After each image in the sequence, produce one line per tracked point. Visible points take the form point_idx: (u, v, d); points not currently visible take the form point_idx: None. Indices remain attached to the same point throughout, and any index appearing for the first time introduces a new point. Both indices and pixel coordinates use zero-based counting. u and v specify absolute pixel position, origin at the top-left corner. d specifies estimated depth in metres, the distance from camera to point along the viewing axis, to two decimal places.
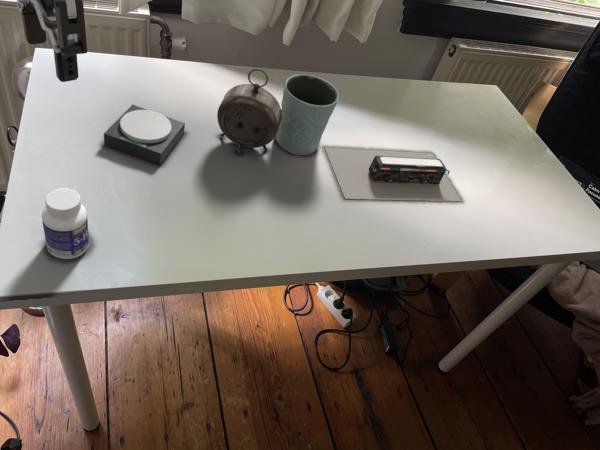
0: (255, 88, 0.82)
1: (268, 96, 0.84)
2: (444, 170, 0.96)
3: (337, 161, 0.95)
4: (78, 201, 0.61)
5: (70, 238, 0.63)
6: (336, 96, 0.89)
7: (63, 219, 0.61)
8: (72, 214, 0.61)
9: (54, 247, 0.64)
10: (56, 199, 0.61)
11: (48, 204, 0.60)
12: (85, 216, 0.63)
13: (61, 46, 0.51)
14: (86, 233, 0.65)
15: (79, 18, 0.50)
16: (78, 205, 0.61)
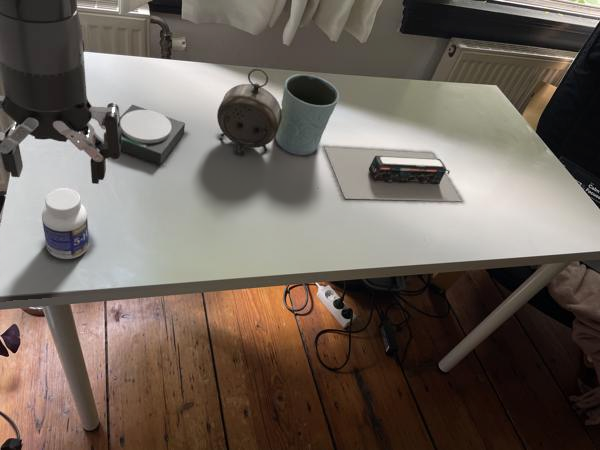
0: (255, 88, 0.82)
1: (268, 96, 0.84)
2: (444, 170, 0.96)
3: (337, 161, 0.95)
4: (78, 201, 0.61)
5: (70, 238, 0.63)
6: (336, 96, 0.89)
7: (63, 219, 0.61)
8: (72, 214, 0.61)
9: (54, 247, 0.64)
10: (56, 199, 0.60)
11: (48, 204, 0.60)
12: (85, 216, 0.63)
13: (113, 152, 0.55)
14: (86, 233, 0.65)
15: (119, 120, 0.55)
16: (78, 205, 0.61)
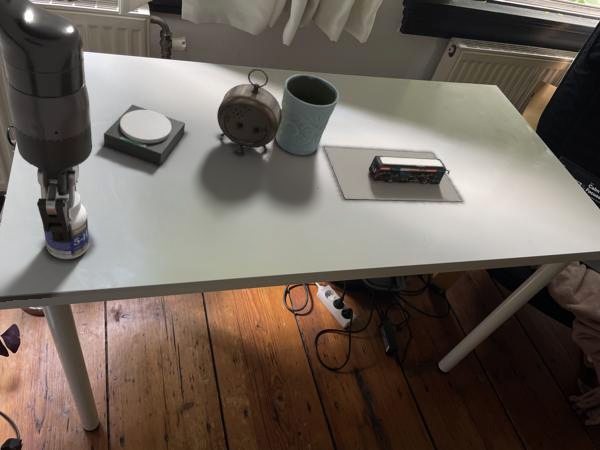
0: (255, 88, 0.82)
1: (268, 96, 0.84)
2: (444, 170, 0.96)
3: (337, 161, 0.95)
4: (78, 201, 0.61)
5: None
6: (336, 96, 0.89)
7: None
8: (72, 214, 0.61)
9: (54, 247, 0.64)
10: None
11: None
12: (85, 216, 0.63)
13: (77, 165, 0.64)
14: (86, 233, 0.65)
15: None
16: (78, 205, 0.61)
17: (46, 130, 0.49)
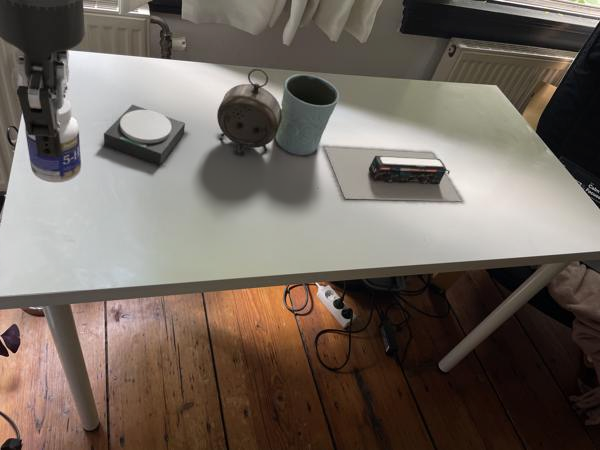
0: (255, 88, 0.82)
1: (268, 96, 0.84)
2: (444, 170, 0.96)
3: (337, 161, 0.95)
4: (68, 108, 0.52)
5: None
6: (336, 96, 0.89)
7: None
8: (61, 123, 0.52)
9: (40, 166, 0.54)
10: None
11: None
12: (76, 129, 0.54)
13: None
14: (78, 152, 0.56)
15: None
16: (68, 113, 0.52)
17: None
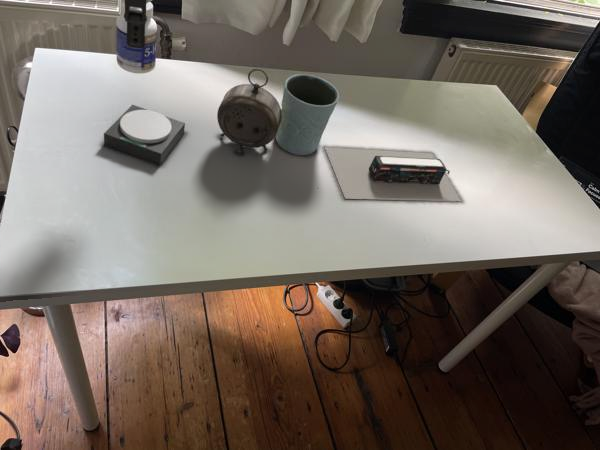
0: (255, 88, 0.82)
1: (268, 96, 0.84)
2: (444, 170, 0.96)
3: (337, 161, 0.95)
4: (151, 6, 0.65)
5: None
6: (336, 96, 0.89)
7: None
8: None
9: (126, 57, 0.67)
10: None
11: (124, 5, 0.63)
12: (156, 27, 0.67)
13: None
14: (155, 48, 0.68)
15: None
16: (151, 10, 0.65)
17: None
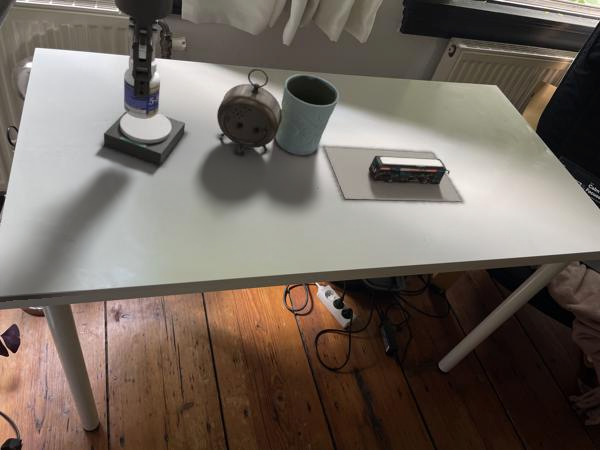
0: (255, 88, 0.82)
1: (268, 96, 0.84)
2: (444, 170, 0.96)
3: (337, 161, 0.95)
4: (155, 62, 0.73)
5: None
6: (336, 96, 0.89)
7: None
8: None
9: (133, 105, 0.76)
10: None
11: (132, 62, 0.72)
12: (159, 79, 0.76)
13: None
14: (158, 96, 0.77)
15: None
16: (155, 66, 0.74)
17: None
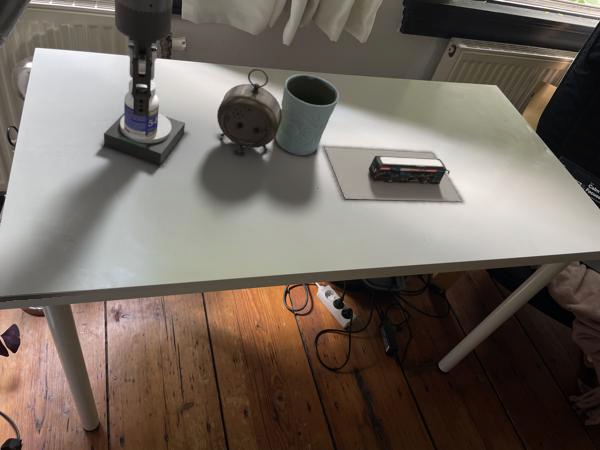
0: (255, 88, 0.82)
1: (268, 96, 0.84)
2: (444, 170, 0.96)
3: (337, 161, 0.95)
4: (154, 87, 0.76)
5: (146, 118, 0.78)
6: (336, 96, 0.89)
7: None
8: None
9: (133, 127, 0.79)
10: (137, 84, 0.76)
11: (131, 87, 0.75)
12: (158, 102, 0.78)
13: None
14: (157, 118, 0.80)
15: None
16: (154, 90, 0.76)
17: (144, 2, 0.64)
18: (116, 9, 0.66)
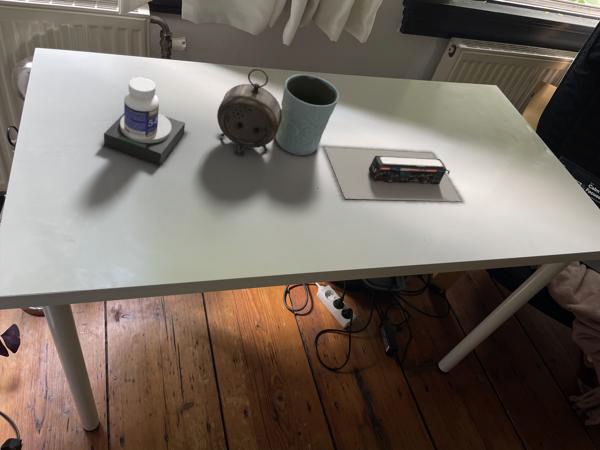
0: (255, 88, 0.82)
1: (268, 96, 0.84)
2: (444, 170, 0.96)
3: (337, 161, 0.95)
4: (154, 87, 0.76)
5: (146, 118, 0.78)
6: (336, 96, 0.89)
7: (142, 101, 0.76)
8: (149, 97, 0.76)
9: (133, 127, 0.79)
10: (137, 84, 0.76)
11: (131, 87, 0.75)
12: (158, 102, 0.78)
13: None
14: (157, 118, 0.80)
15: None
16: (154, 90, 0.76)
17: None
18: None
